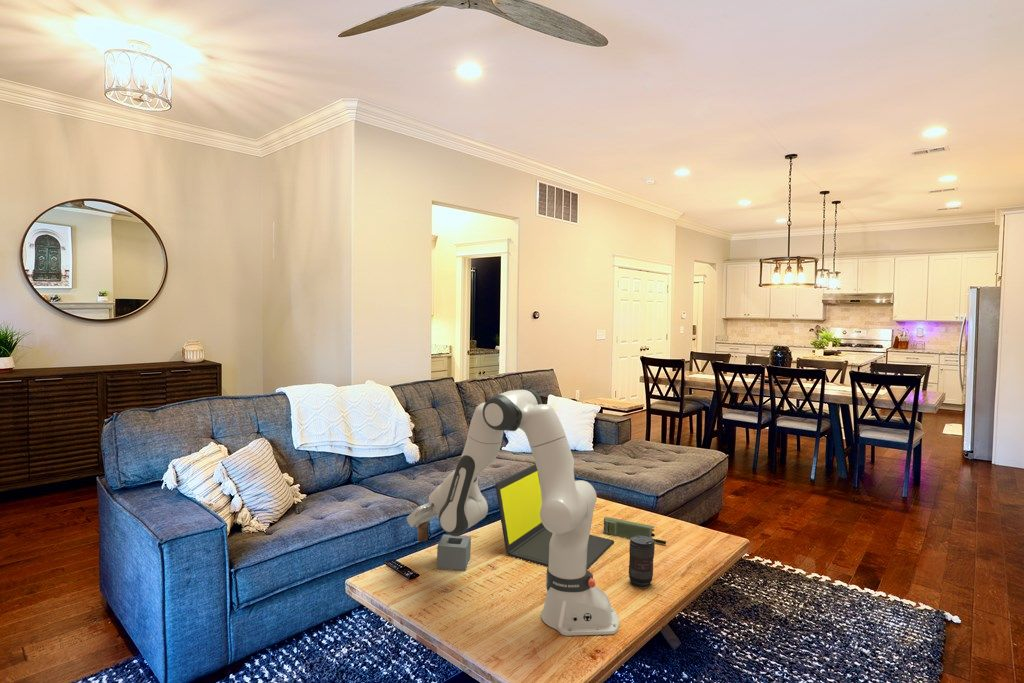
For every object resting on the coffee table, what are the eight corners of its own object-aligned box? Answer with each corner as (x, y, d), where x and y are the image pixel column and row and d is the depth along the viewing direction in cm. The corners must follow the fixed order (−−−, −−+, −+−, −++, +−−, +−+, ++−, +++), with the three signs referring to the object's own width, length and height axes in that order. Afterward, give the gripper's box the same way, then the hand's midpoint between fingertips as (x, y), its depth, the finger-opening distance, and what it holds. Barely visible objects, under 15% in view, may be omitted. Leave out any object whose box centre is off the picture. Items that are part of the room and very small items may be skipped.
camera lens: (657, 583, 188) (659, 539, 188) (644, 591, 182) (647, 546, 182) (636, 575, 194) (637, 532, 193) (623, 583, 188) (625, 539, 187)
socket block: (470, 558, 203) (470, 536, 203) (465, 570, 193) (466, 547, 193) (442, 556, 204) (443, 534, 204) (436, 568, 194) (437, 545, 194)
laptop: (580, 577, 192) (583, 501, 190) (493, 552, 209) (495, 483, 208) (614, 544, 221) (616, 477, 219) (534, 524, 238) (536, 463, 237)
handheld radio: (605, 531, 233) (666, 544, 221) (602, 534, 230) (664, 547, 218) (605, 515, 232) (667, 527, 221) (603, 518, 229) (665, 531, 218)
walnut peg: (428, 537, 199) (428, 510, 199) (426, 541, 196) (426, 513, 195) (419, 537, 199) (419, 509, 199) (416, 541, 196) (416, 513, 195)
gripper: (425, 517, 182) (404, 539, 188) (466, 500, 198) (445, 521, 205) (415, 501, 184) (394, 523, 190) (456, 485, 201) (436, 507, 207)
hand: (421, 522), depth 198 cm, fingers closed on walnut peg, 3 cm apart
